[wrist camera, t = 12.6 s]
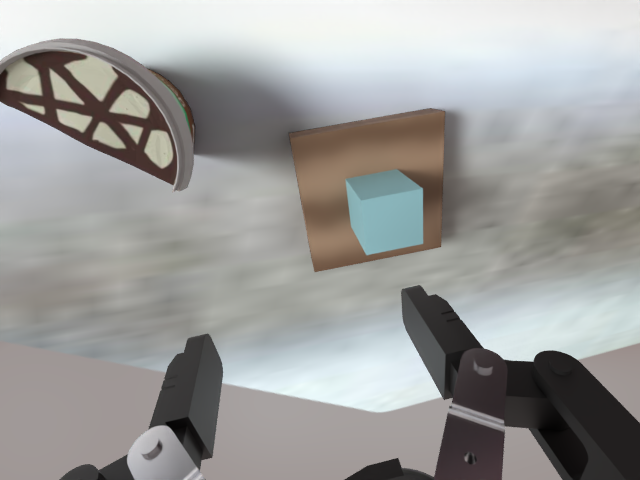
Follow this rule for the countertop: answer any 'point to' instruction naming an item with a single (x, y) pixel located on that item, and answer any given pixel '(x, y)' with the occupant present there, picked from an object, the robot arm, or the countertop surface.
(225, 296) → the countertop surface
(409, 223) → the teal block
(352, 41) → the countertop surface
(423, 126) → the walnut base
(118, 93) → the food container
